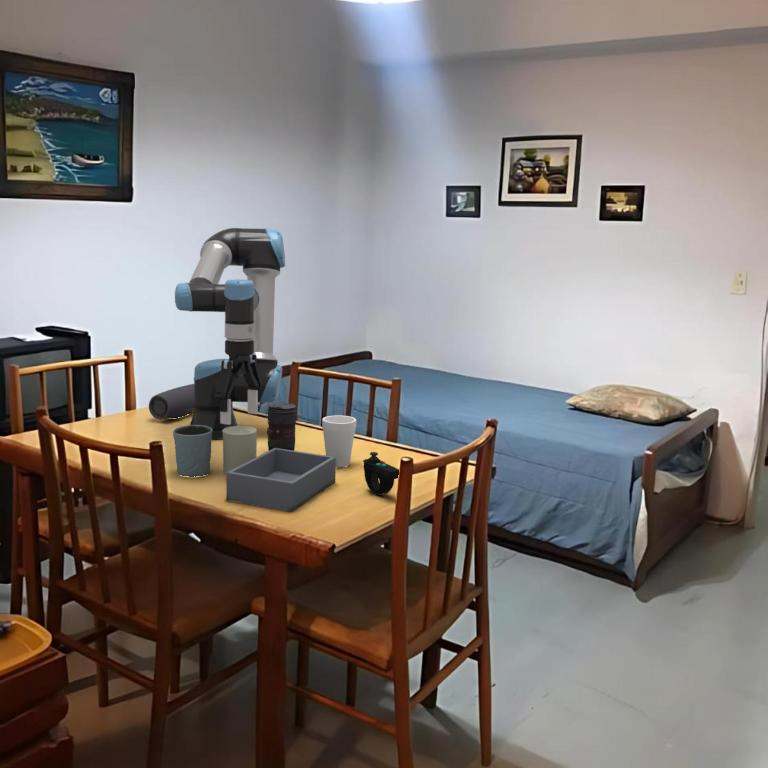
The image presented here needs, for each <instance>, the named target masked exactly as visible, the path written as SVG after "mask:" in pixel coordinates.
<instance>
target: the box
mask: <svg viewBox="0 0 768 768" xmlns="http://www.w3.org/2000/svg"><path fill="white" fill-rule="evenodd" d="M336 469H337V468H336V457H332V456H326V454H320V453H319V454H318V453H312V452H305V451H297V450H294V451H292V450H286V449H279V448H274V449H272V450H270V451H269V450H268V451H266V452H264V453H262V454H260V455H258V456H256V458H254V459H252V460H250V461H248V462H246V463H244V464H242V465H240V466H238V467H236V468H234V469H232V470H230V471H228V472H226V474H225V477H226V478H225V481H226V482H225V483H226V485H225V486H226V490H225V492H226V495H225V496H226V501H230V502H234V503H240V504H247V505H252V506H258V507H264V508H267V509H268V508H269V509H274V510H280V511H285V512H286V511H287V512H290V513H293V512H295V511H296V510H298V509H299V508H301V507H302V506H303V505H305V504H307V503H308V502H309V501H311V500H312V499H313V498H315V497H317V496H318V495H320V494H321V493H322V492H323V491H325V490H326V489H328V488H329V487H331V486H333V485H334V484H335V483H336ZM332 484H333V485H332Z"/></svg>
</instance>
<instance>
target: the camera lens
mask: <svg viewBox="0 0 768 768" xmlns="http://www.w3.org/2000/svg"><path fill="white" fill-rule="evenodd" d="M296 422H297V406H296V405H295V404H293V403H290V402H271V403H270V404H269V405H268V409H267V425H268V427H267V430H266V433H267V450H268V451H270V450H272V449H274V448H279V449H286V450H292V451H296V450H295V449H296Z"/></svg>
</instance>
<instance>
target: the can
mask: <svg viewBox="0 0 768 768" xmlns="http://www.w3.org/2000/svg"><path fill="white" fill-rule="evenodd" d="M222 432H223V439H222V473H223V474H224V475H226V472H228V471H230V470H232V469H234V468H236V467H238V466H240V465H242V464H244V463H246V462H248V461H250V460H252V459H254V458H256V457H257V442H258V440H257V438H258V437H257V435H258V433H257V432H258V430H257V428H255V427H253V426H248V425H238V426H232V427H227V428H224V429H223V430H222Z"/></svg>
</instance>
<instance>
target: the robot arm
mask: <svg viewBox="0 0 768 768" xmlns="http://www.w3.org/2000/svg"><path fill="white" fill-rule="evenodd" d="M199 255H200V256H199V257H200V258H199V260H198V263H197V265H196V267H195V269H194V271H193V273H192V275H191V278H190V279H189V282H179V283H177V285H176V286H175V290H174V302H175V307H176V308H177V310H179V311H181V312H182V311H184V312H190V313H192V312H203V313H205V312H213V313H224V338H225V339H226V340H225V341H224V353H225V354H226V355H227V356H228V358H217V359H209V360H204V361H201V362H199V363H197V364H196V365H195V367H194V371H193V373H194V374H193V375H194V376H193V381H194V382H193V384H194V396H195V410H194V411H193V413H192V417H191V421H190V424H189V425H203V426H208V427H211V428H212V440H213V439H215V440H223V432H222V430H223V429H224V428H227V427H232V426H239V424H238V422H237V418H236V416H235V413H234V408H233V404H234V403H247V413H248V414H252V415H258V412H259V410H258V407H259V406H258V405H259V403H260V404H263V403H275V401H276V400H277V399H278V397H279V394H280V389H281V384H282V377H283V366H282V365H279V363H278V360H279V359H277V357H276V356H275V355H274V354H273V353H274V329H275V326H274V325H275V300H276V299H275V295H276V293H275V291H276V278H277V277H279V275H280V274H281V269H283V268H285V267H286V253H285V247H284V239H283V234H282V233H281V231H279V230H277V229H271V228H270V229H269V228H246V227H245V228H241V227H239V228H237V227H231V228H226V229H222V230H220V231H218V232H216V233H214V234H212V235H211V236H210V237H208V238H207V239H206V240H205V242H204V243H203V244H202V246H201V248H200V250H199ZM229 266H233V267H234V266H236V267H242V272H243V273H244V275H245V276H246V277H247V279H238V278H237V279H228V280H226V281H225V282H224V283H223V284H222V283H221V284H220V280H221V279H222V276H223V273H224V270H225V269H226V268H227V267H229ZM213 441H214V440H213Z"/></svg>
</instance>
